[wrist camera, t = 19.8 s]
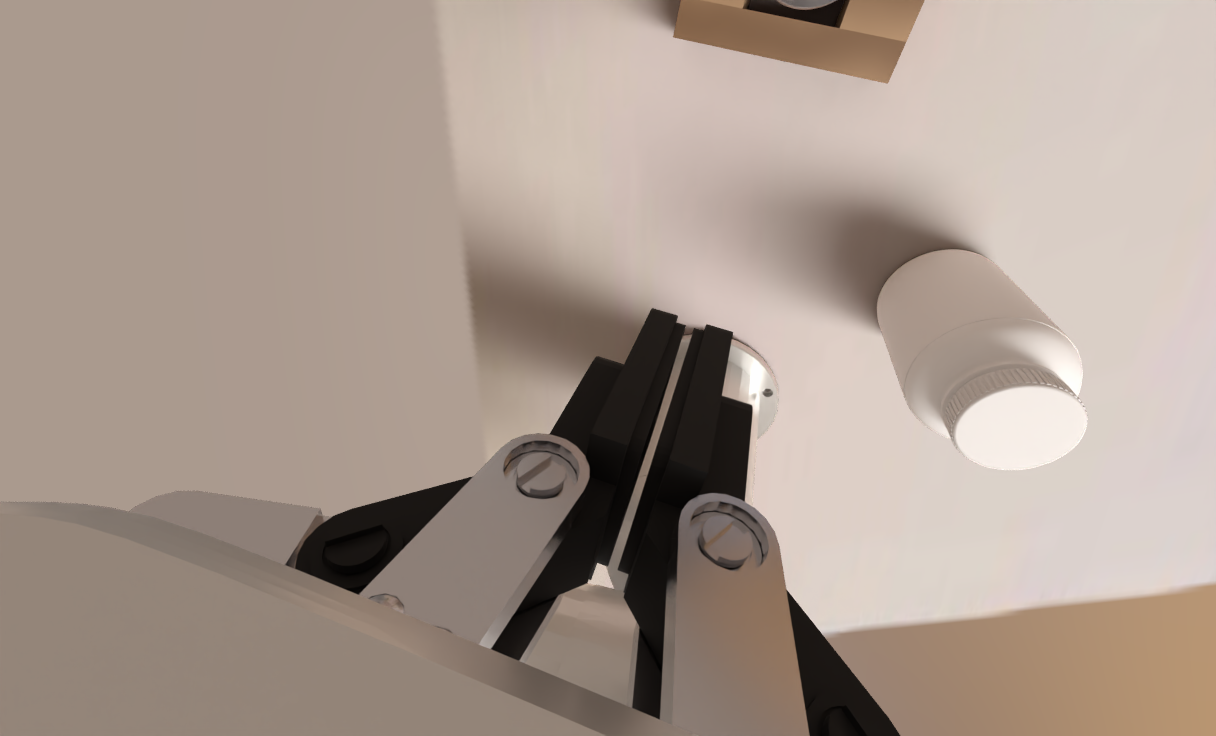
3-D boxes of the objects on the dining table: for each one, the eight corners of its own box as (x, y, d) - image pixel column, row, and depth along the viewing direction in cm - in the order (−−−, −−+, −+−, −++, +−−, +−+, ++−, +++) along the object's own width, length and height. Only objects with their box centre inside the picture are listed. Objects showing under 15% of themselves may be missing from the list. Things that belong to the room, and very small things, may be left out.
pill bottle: (1034, 293, 34) (1172, 435, 22) (926, 365, 38) (990, 514, 26) (949, 220, 33) (1044, 326, 21) (850, 303, 37) (880, 428, 25)
